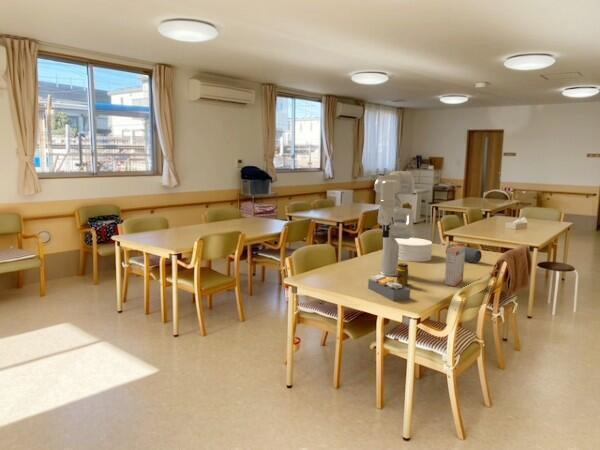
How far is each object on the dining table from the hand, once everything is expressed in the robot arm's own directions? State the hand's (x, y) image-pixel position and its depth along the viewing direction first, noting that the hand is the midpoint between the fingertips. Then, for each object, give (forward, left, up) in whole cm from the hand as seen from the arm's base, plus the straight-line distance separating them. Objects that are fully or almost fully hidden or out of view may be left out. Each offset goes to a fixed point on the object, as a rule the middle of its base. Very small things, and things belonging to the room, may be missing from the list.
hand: (385, 237), depth 248 cm
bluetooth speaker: (-87, -32, -27) cm, 97 cm away
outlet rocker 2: (+8, +14, -21) cm, 26 cm away
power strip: (+6, +14, -27) cm, 31 cm away
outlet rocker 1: (+8, +7, -21) cm, 23 cm away
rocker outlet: (+8, +21, -21) cm, 30 cm away
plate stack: (-59, -54, -28) cm, 85 cm away
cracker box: (-41, +10, -27) cm, 50 cm away
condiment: (-11, +3, -27) cm, 30 cm away
